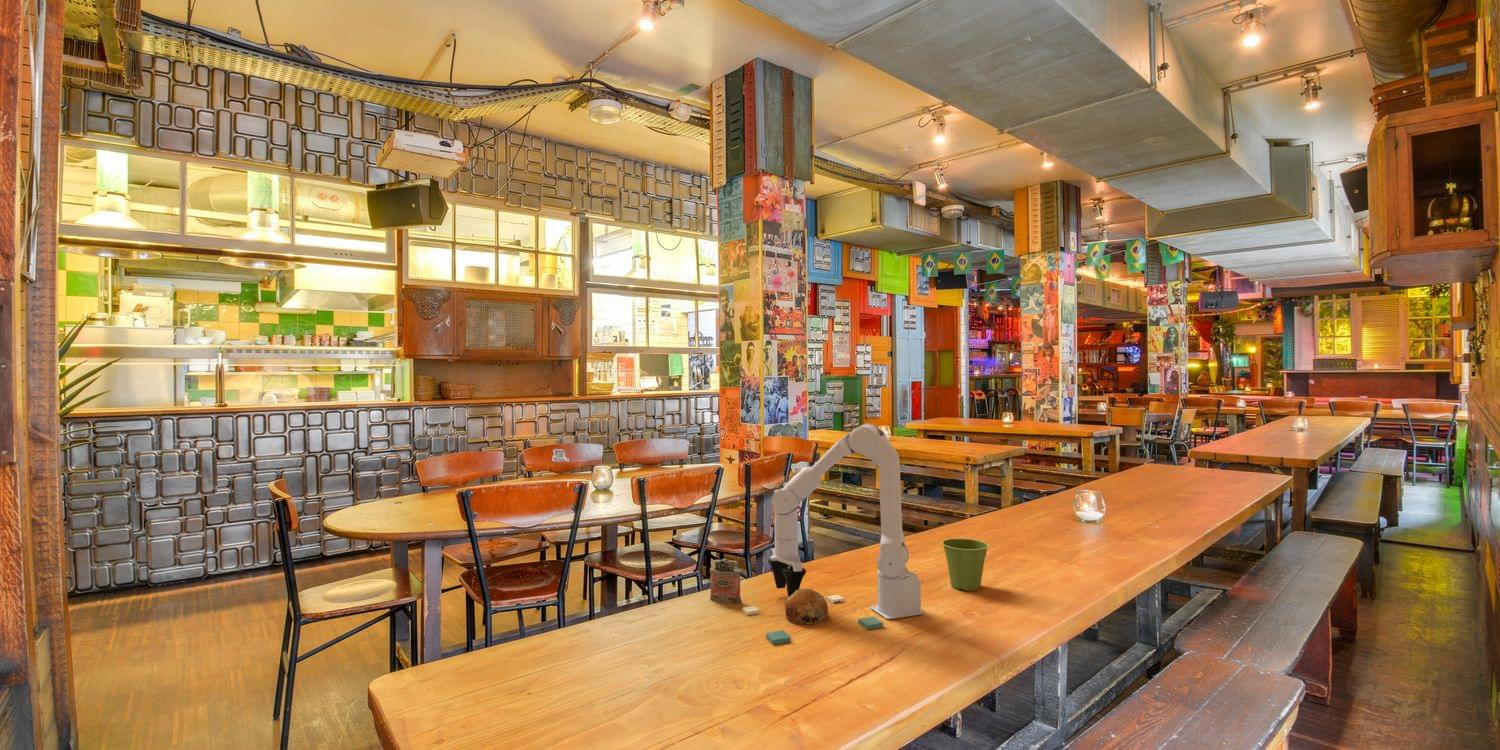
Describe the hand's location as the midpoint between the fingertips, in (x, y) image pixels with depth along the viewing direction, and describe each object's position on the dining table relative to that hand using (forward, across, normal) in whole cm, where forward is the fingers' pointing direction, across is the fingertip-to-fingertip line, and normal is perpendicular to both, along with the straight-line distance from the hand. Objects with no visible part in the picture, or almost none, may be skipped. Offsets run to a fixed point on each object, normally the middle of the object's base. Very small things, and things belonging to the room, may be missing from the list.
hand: (786, 592), depth 165 cm
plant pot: (+2, +7, +47) cm, 48 cm away
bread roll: (+2, +12, 0) cm, 12 cm away
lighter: (+2, -6, -14) cm, 15 cm away
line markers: (+2, +13, 0) cm, 13 cm away
